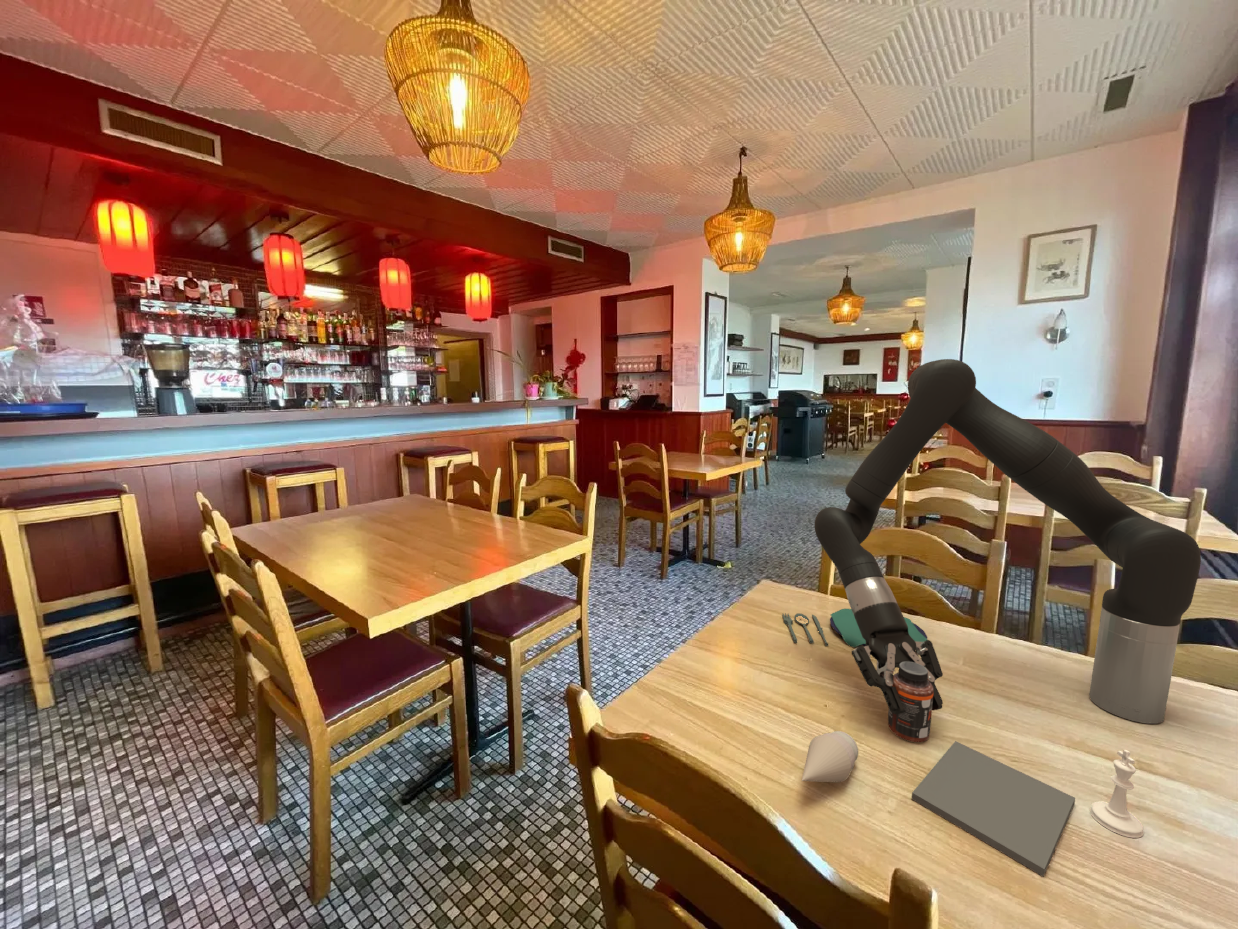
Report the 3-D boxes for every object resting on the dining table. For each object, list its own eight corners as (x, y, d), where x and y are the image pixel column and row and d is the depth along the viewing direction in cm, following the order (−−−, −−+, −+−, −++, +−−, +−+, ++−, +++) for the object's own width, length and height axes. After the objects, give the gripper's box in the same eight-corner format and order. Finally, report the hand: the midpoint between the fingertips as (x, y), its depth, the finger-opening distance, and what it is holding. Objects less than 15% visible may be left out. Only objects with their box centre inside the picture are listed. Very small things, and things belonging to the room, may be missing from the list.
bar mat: (954, 746, 77) (955, 741, 77) (1074, 804, 66) (1075, 797, 66) (911, 799, 68) (912, 792, 67) (1043, 877, 57) (1044, 869, 56)
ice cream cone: (794, 810, 66) (841, 769, 76) (833, 803, 62) (877, 761, 72) (772, 760, 68) (820, 727, 79) (808, 751, 65) (854, 717, 75)
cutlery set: (943, 662, 102) (944, 651, 102) (792, 650, 107) (792, 640, 107) (906, 618, 121) (906, 609, 121) (779, 610, 127) (779, 602, 126)
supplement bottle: (936, 747, 77) (942, 680, 76) (894, 742, 78) (899, 676, 77) (921, 722, 83) (926, 659, 81) (882, 717, 84) (887, 656, 83)
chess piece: (1114, 804, 66) (1125, 737, 65) (1155, 837, 61) (1167, 765, 60) (1079, 806, 66) (1088, 738, 65) (1117, 839, 61) (1128, 766, 60)
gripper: (847, 603, 84) (890, 711, 74) (923, 597, 86) (974, 702, 76) (828, 618, 90) (865, 720, 80) (899, 613, 92) (944, 711, 82)
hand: (918, 711), depth 78 cm, fingers closed on supplement bottle, 6 cm apart
